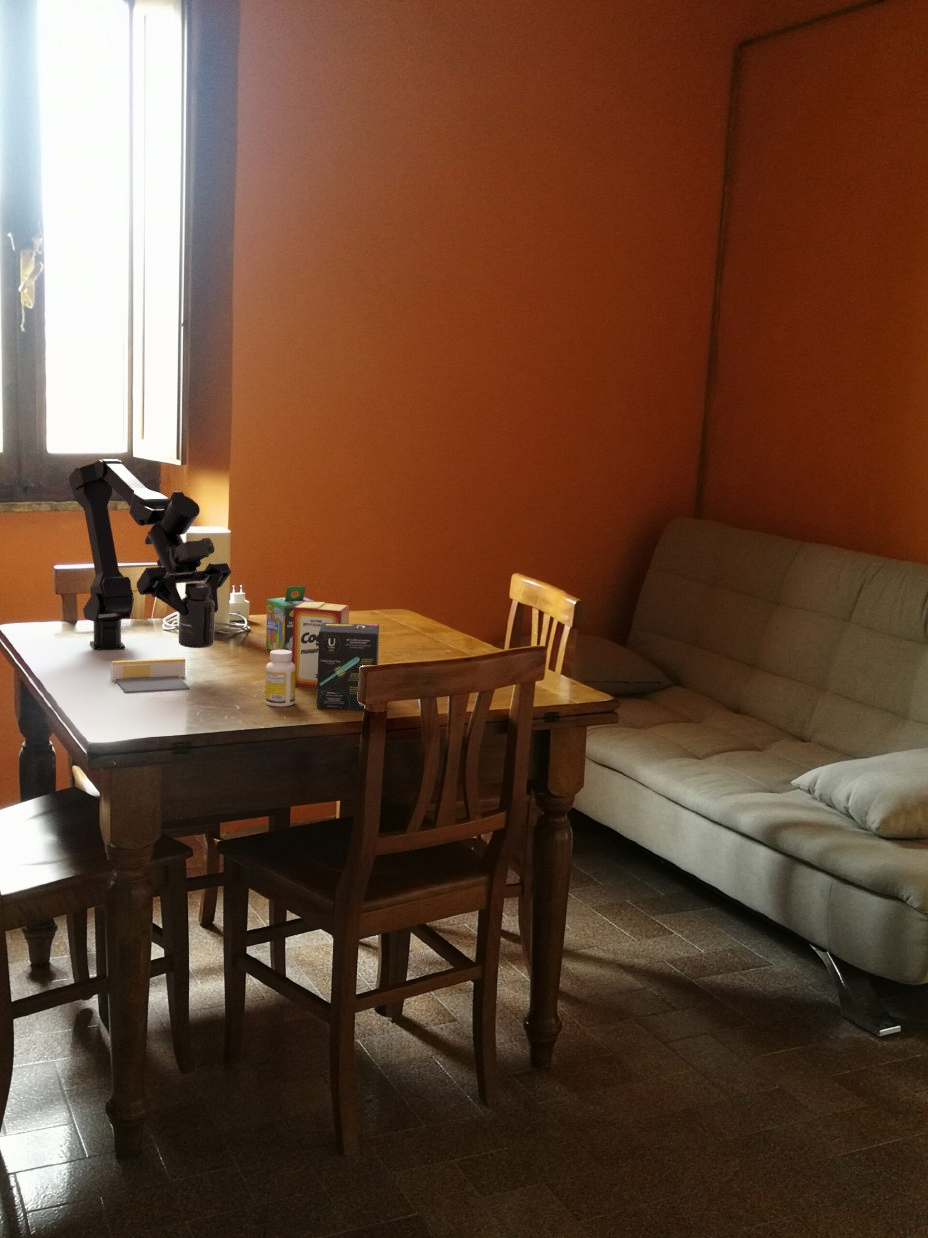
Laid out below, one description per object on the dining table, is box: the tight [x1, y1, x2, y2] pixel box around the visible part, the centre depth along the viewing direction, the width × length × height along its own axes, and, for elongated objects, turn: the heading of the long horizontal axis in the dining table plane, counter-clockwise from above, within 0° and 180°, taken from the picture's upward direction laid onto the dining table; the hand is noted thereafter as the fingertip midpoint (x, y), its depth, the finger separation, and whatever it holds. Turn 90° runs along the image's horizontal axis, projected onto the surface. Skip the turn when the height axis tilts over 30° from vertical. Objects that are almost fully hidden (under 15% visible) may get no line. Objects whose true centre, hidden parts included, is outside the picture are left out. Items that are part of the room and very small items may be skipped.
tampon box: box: [316, 623, 380, 711], centre depth 219 cm, size 11×9×15 cm
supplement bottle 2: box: [265, 650, 296, 708], centre depth 217 cm, size 5×5×10 cm
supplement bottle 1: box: [178, 582, 216, 649], centre depth 232 cm, size 7×7×12 cm
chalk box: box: [265, 585, 317, 651], centre depth 262 cm, size 9×9×15 cm
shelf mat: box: [115, 676, 190, 694], centre depth 226 cm, size 10×12×1 cm
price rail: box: [111, 657, 186, 681], centre depth 232 cm, size 2×14×4 cm, turn 116°
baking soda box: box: [291, 601, 350, 689], centre depth 233 cm, size 10×6×16 cm
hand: (200, 612), depth 230 cm, fingers closed on supplement bottle 1, 7 cm apart
